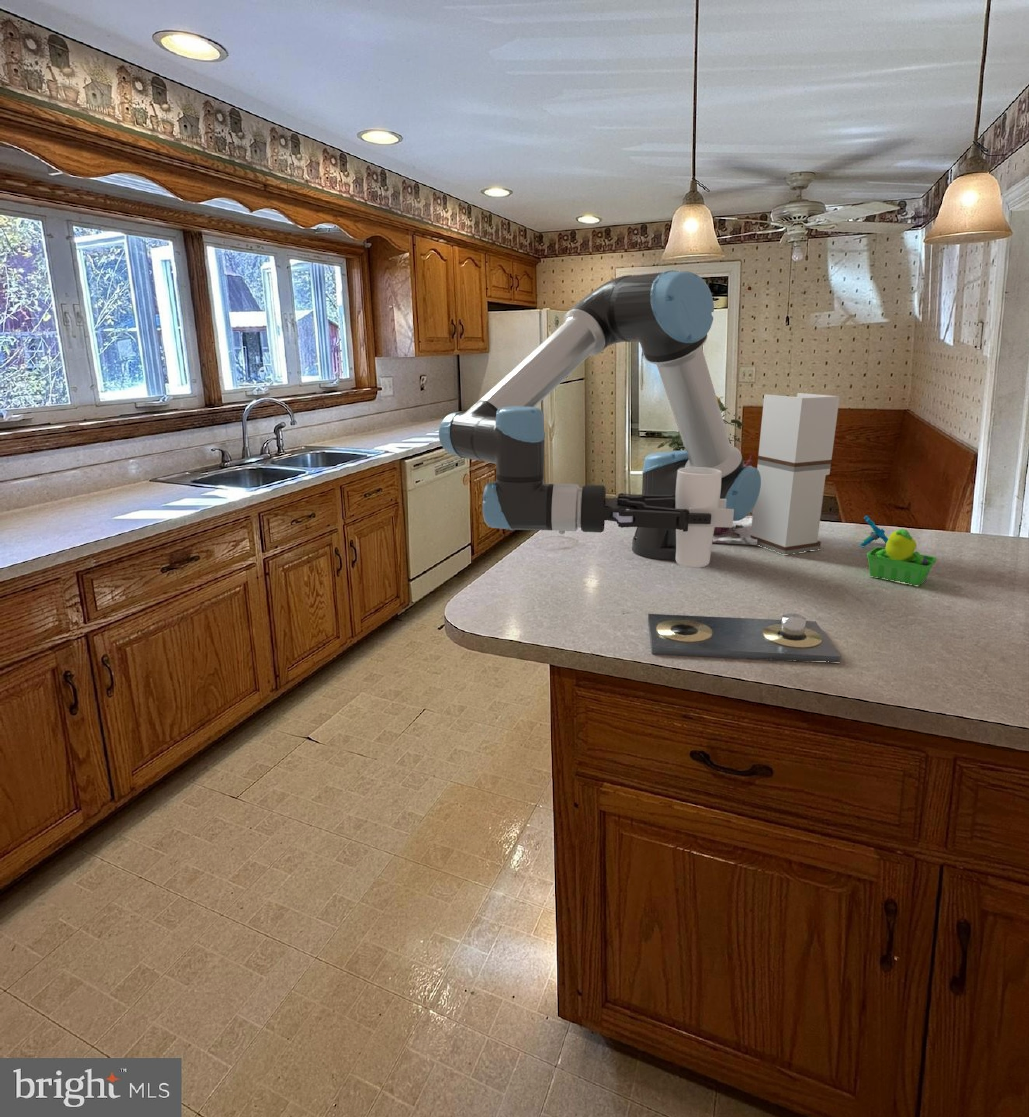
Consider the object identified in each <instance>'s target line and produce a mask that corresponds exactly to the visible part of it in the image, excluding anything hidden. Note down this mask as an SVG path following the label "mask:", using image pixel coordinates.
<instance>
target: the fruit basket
mask: <svg viewBox="0 0 1029 1117" xmlns="http://www.w3.org/2000/svg"><path fill="white" fill-rule="evenodd" d="M885 544H886V545H885V547H881V546H877V547H875V548H873V549H872V550H870V551H868V552H866V558H867V561H868V567H869V568H868V569H869V576H873V577H878V578H885V579H888V580H894V581H900V582H905V583H909V584H912V585H919V586H921V585H922V584H923V583H924V582H925V581H926V579H927V577H928V575H929V573H930V571H931V569H932V567H933V565H934V564H935V563H936V561H937V558H936V557H935V556H931V555H924V554H921V553H920V552H919V551H916V548H917V543H916V541H915V539H914V538H913V536H911V534H910V532H909V531H908V530H907V529H905V528H901V529H898V530H897V529H896V530H895V531H893V532H892V533H890V535H889V537H888V541H887V543H885ZM924 580H925V581H924ZM923 581H924V582H923ZM922 582H923V583H922ZM921 583H922V584H921ZM920 584H921V585H920Z"/></svg>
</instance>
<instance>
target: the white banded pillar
mask: <svg viewBox="0 0 1029 1117" xmlns="http://www.w3.org/2000/svg"><path fill="white" fill-rule="evenodd" d="M762 404H763V406H762V414H761V415H762V416H761V424H760V425H761V426H760V436H759V443H758V444H759V446H758V456H757V467H756V469H757V470H758V471H759V473H760V476H761V487H760V492H759V496H758V499H757V501H756V504H755V505H754V507H753V509H752V516H751V518H752V526H751V538H753V539H757V545H760V546H762V547H766V548H768V549H771V550H775V551H776V552H779V553H781V554H793V553H799V552H804V551H810V550H818V549H820V550H821V546H822V545H821V544H822V542H821V540H818V538H819V531H820V530H819V529H820V522H821V515H822V508H823V507H822V506H823V500H824V499H823V498H824V491H825V485H826V484H825V482H826V476H829V475H830V473H831V467H832V458H833V451H834V445H835V436H836V427H837V420H838V412H839V404H840V396H838V395H828V394H815V393H805V392H797V395H796V396H790V395H789V396H786V395H779V394H764V396H763V403H762ZM762 547H761V548H762ZM781 554H780V555H781ZM793 555H794V554H793Z"/></svg>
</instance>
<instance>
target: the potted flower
mask: <svg viewBox="0 0 1029 1117" xmlns="http://www.w3.org/2000/svg"><path fill="white" fill-rule="evenodd" d="M716 397H717V401H718V404H719V408H720V411H721V413H723V414H722V418H723V421H724V424H729V425H731V426H736V425H737V426H736V427H737V428H738V429H739V430H741V429H742V428H743V427H744V426H743V425H744V424H743V423H742V422H741V421H740V420H739V419H730V422H728V420H726V419H724V416H727V414H728V415H731V413H730V412H729V411H728V410H727V409H729V407H725V404H723V402H722V401H721V400H722V399H723V398H724V396H720V397H718V396H717V395H716ZM725 412H727V414H725ZM733 416H734V417H735V416H737V414H733ZM661 434H662V435H663V436H664V437H669V438H668V439H667V440H665V441H663V442H661V443H660V444H658V446H657V447H656V449H661V448H663V447H665V445H666V444H668V445H667V446H668V447H669V449H672V451H681V450H685V447H684V444H683V441H682V438H681V435H680V432H679V430H669V431H667V432H666V433H665V432H664V433H663V432H662V433H661ZM729 436H732V439H734V440H732V439H730V437H729ZM729 436H728V439H729V442H730V445H731V444H732V442H736V441H737V442H738V443H742V441H741V440H746V439H749V437H747V438H746V437H741V438H740V439H738V438H737V437H738V436H737V435H735V434H734V435H732V433H731V432H730V433H729ZM743 462H744V465H746V466H752V454H750V455H749V459H748V460H743ZM745 462H746V463H745ZM751 526H752V517H745V518H743V519H741V520H739V521H733V527H732V528H731V527H715V529H714V535H716V534H717V535H719V534H724V533H727V532H729V531H730V528H731V531H732V532H733V533H735V534H739V537H736V538H733V537H732V536H725V537H718V539H714V538H713V541H712V544H713V543H717V544H734V545H753V546H756V545H757V539H753V538H751Z"/></svg>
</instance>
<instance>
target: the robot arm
mask: <svg viewBox="0 0 1029 1117" xmlns="http://www.w3.org/2000/svg"><path fill="white" fill-rule="evenodd" d="M714 311H715V306H714V298H713V295H712V292H711V289H710V288H709V286H708V283H706V282H705V280H704V279H703V278H702V277H701V276H700V275H698V274H696V273H694V272H691V271H683V270H682V271H681V270H680V271H679V270H673V269H672V270H666V271H662V272H656V273H655V272H654V273H643V274H634V275H633V274H628V275H621V276H618V277H615V278H612V279H611V280H609V281H607V282H605V283H603V284H601V285H600V286H598V287H597V288H596V289H594V290H593V291H591V292H590V293H588V294H587V295H585V297H584V298H582V299H581V300H579V301H578V302H577V303H576V304H574V306H573V307H572V308H571V309H569V310H568V311H567V312H566V313H565V314H564V316H563V318H562V324H561V325H560V326H558V328H556V329H555V331H554V332H553V333H551V334H550V335H549V336H548V337H547V338H546V339H544V340H543V341H542V342H541V343H540V344H539V345H538V346H537V347H536V348H535V349H533V351H531V353H529V354H528V355H527V356H526V357H525V358H524V359H522V360H521V361H520V363H519V364H517V365H516V366H515V367H514V368H512V370H511V371H510V372H508V373H507V374H506V375H505V376H504V377H502V379H501V380H499V381H498V382H497V383H495V385H494V386H493V387H492V388H491V389H490V390H488V391H487V392H486V393H485V394H484V395H483V396H482V397H481V398H479V400H478V401H476V402H475V403H474V404H473V405H472V406H471V407H469V409H467V410H466V411H457V412H452V413H449V414H448V415H446V416H445V417H444V418H443V419H442V421H441V422H440V426H439V428H438V439H439V442H440V445H441V447H442V448H443V449H444V450H445V451H446V452H447V453H448V454H450V455H453V456H456V457H458V458H460V459H463V460H464V459H465V460H466V459H470V460H473V461H480V462H485V463H490V464H495V467H496V468H495V469H496V478H495V480H494V481H492V482H491V481H490V482H488V483H486V484H485V486H484V487H483V488H484V489H483V492H482V493H483V494H482V498H483V500H482V517H483V521H484V523H485V525H487V526H488V527H489V528H493V529H503V530H504V529H505V530H510V531H516V530H517V531H522V530H523V531H553V532H555V531H558V533H559V534H560V535H564V534H565V532H577V531H578V528H580V530H581V531H582V533H599V534H600V533H603V532H604V531H605V522H606V521H609V522H614V523H615V522H616V524H617V526H618V527H619V528H621V529H622V528H636V529H635V532H634V536H633V538H632V539H631V550H632V552H633V553H634V554H637V555H639V556H641V557H645V558H649V559H654V560H655V559H656V560H666V561H669V560H670V561H671V560H672V561H673V560H674V561H676V529H679V530H683V532H687V531H688V526H701V527H730V528H731V529H733V528H734V527H733V521H739V520H741V519H743V518H747V517H748V516H749V514H750V513H751V512H752V511H753V507H754V505H755V504H756V501H757V499H758V496H759V492H760V487H761V476H760V473H759V471H758V470H757V467H755V466H754V467H753V466H752V465H751V466H748V465H747V466H746V465H745V462H743V461H744V459H743V456H742V452H741V451H740V449H739V448H737V447H736V446H733V445H731V444H730V442H731V441H730V442H729V439H730V438H729V435H728V433H727V429H726V425H725V423H724V422H725V421H723V419H724V417H722V416H723V414H722V412H721V411H720V408H719V404H718V401H717V397H718V396H717V395H716V391H715V388H714V384H713V381H712V378H711V374H710V371H709V368H708V364H707V361H706V357H705V353H704V350H703V346H704V345H705V343H706V342H707V340H708V333H709V332H710V330H711V329H712V324H713V323H714V322H713V321H714V316H713V314H712V313H714ZM624 342H626V343H639V344H640V346H641V350H642V353H643V355H644V359H645V360H646V361H647V362H648V363H650V364H653V365H656V367H657V370H658V373H659V376H660V379H661V382H662V384H663V388H664V390H665V393H666V397H667V398H668V401H669V402H668V403H669V405H670V408H671V411H672V414H673V416H674V420H675V423H676V425H677V428H678V431H679V432H680V435H681V438H682V441H683V444H684V445H683V446H684V447H685V449H684V450H682V449H680V450H681V451H673V450H668V451H660V452H653V453H649V454H648V455H647V456H646V457H644V461H643V469H642V470H643V471H642V480H641V481H642V482H641V483H642V485H641V494H634V493H633V494H630V493H622V492H620V493H618V495H617V497H609V498H607V495H606V492H607V488H606V486H605V485H602V484H584V485H583V486H582V487H580V485H578V484H577V483H544V465H545V464H544V462H545V458H544V457H545V439H546V432H545V421H544V412H543V411H542V410H541V409H540V408H539V407H537V406H538V405H539V404H540V403H542V401H543V400H544V399H545V398H546V397H547V396H548V395H549V394H551V392H553V391H554V390H555V389H556V388H557V387H558V386H559V385H560V384H561V383H562V382H563V381H565V379H566V378H568V376H570V374H572V373H573V372H574V371H575V370H576V369H577V368H578V367H579V366H580V365H582V364H583V362H585V360H586V359H587V358H589V356H597V355H599V354H600V353H602V352H603V351H604V350H605V349H606V348H608V347H610V346H612V345H615V344H618V343H619V344H620V343H624ZM716 396H717V397H716ZM728 438H729V439H728ZM686 467H704V468H713V469H717V470H720V471H721V472H722V477H721V493H720V501H719V507H718V508H689V510H687V509H676V508H675V491H676V479H677V471H678V469H680V468H686ZM487 526H486V527H487Z"/></svg>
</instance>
